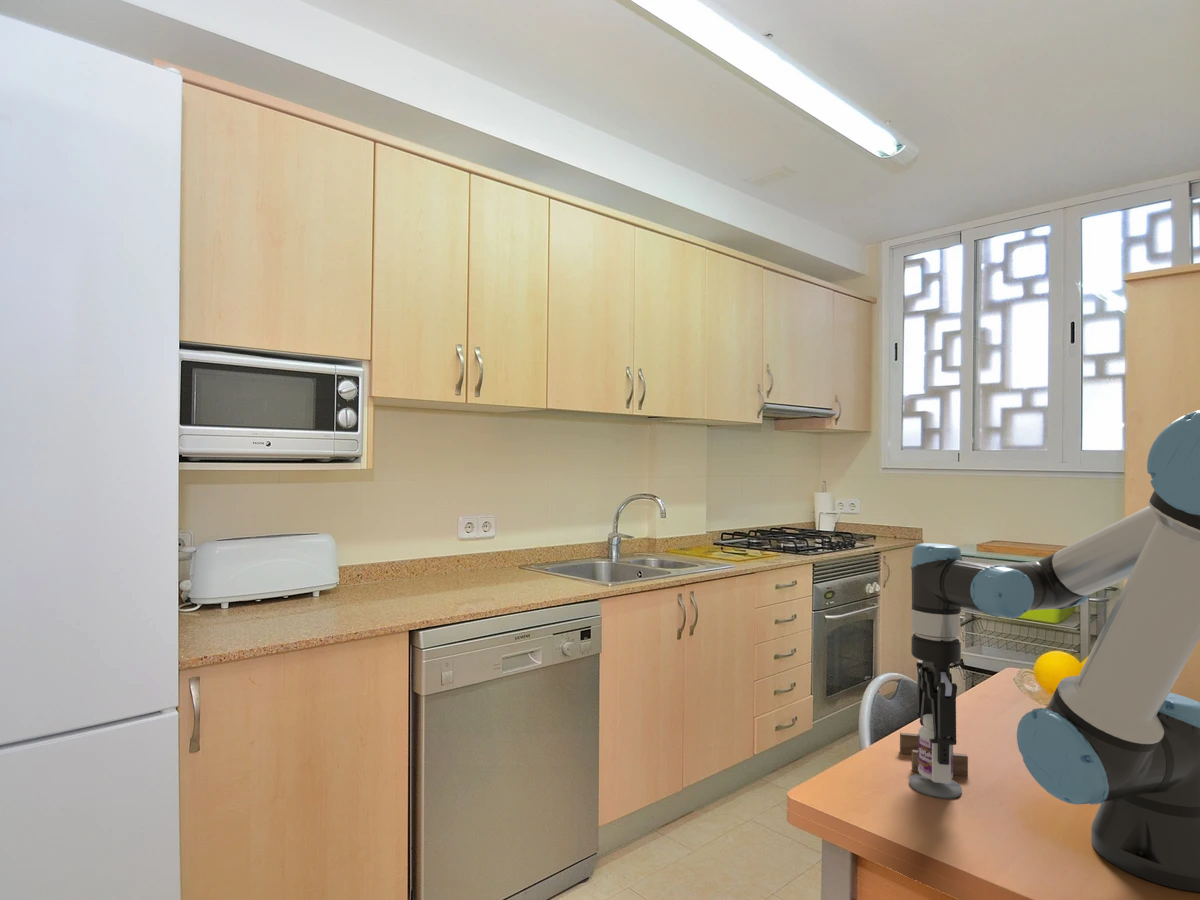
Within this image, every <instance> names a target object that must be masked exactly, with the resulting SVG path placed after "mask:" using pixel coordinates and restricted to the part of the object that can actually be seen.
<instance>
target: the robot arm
mask: <svg viewBox="0 0 1200 900" xmlns="http://www.w3.org/2000/svg"><path fill="white" fill-rule="evenodd" d="M1146 462H1147V463H1146V469H1147V471H1146V473H1147V474H1149V475H1150V477H1151V479H1150V485H1151V486H1152V489H1153V492H1152V494H1151V496H1150V499H1149V500H1148V506H1146V507H1144V508H1141V509H1139V510H1138V511H1135V512H1134V513H1132V514H1130V515H1128V516H1126V517H1124V518H1122V519H1120V520H1118V521H1115V522H1114V523H1112V524H1110V525H1107V526H1106V527H1103V528H1102V529H1100V530H1098V531H1096V532H1094V533H1091V534H1089V535H1087V536H1086V537H1083V538H1082V539H1080V540H1078V541H1076V542H1073V543H1071V544H1069V545H1067V546H1065V547H1064V548H1061V549H1059V550H1057V551H1056V552H1054V553H1051V554H1050V555H1048V556H1045V557H1044V558H1041V559H1039V560H1036V561H1026V562H1025V561H1024V562H1022V561H1021V562H1005V563H983V562H975V561H968V560H965V559H963V556H962V552H961V551H962V550H961V549H960V547H959V546H956V545H953V544H947V543H932V542H931V543H930V542H928V543H927V542H926V543H925V542H923V543H917V544H916V545H914V546H913V549H912V555H911V556H912V557H911V566H910V570H911V610H910V611H911V614H910V616H911V617H910V620H911V621H910V624H911V625H910V627H911V628H910V629H911V631H912V635H911V648H910V649H911V655H912V656H913V657H914V658H915V659H916V660H919V661H916V673H917V684H916V685H917V688H916V689H917V691H916V693H917V694H916V695H917V697H916V698H917V699H916V700H917V701H916V717H917V718H918V719H919V724H920V725H921V726H922V727H923V726H924V725H923V716H924V715H926V714H932V715H933V728H934V739H930V743H932V781H933V782H938V783H950V784H951V780H952V779H951V745H953V746H956V745H957V695H958V694H957V692H958V686H957V683H954V682H953V677H952V675H953V674H952V673H951V672H950V668H949V667H950V665H952V664H957V663H959V662H960V661H961V656H962V654H961V653H962V651H961V648H962V646H961V645H962V641H961V640H960V639H959V637H960V636H961V623H963V622H964V617H963V616H961V612H962V608H963V609H968V610H972V611H974V612H975V611H976V612H980V613H983V614H986V615H990V616H991V617H996V618H998V617H1002V618H1008V619H1017V618H1020V617H1023V615H1024V614H1025V613H1027V612H1029V611H1035V610H1065V609H1069V608H1072V607H1078V606H1081V605H1082V604H1085V602H1086V601H1087V600H1088V599H1089V597H1090V596H1091V595H1092V594H1094V593H1096V592H1099V591H1102V590H1103V589H1106V588H1108V587H1110V586H1114V585H1115V584H1119V583H1121V582H1123V581H1125V580H1126V582H1125V583H1124V586H1123V587H1122V590H1121V592H1120V593H1119V595H1118V597H1117V599H1116V601H1115V603H1114V605H1113V608H1112V610H1111V611H1110V613H1109V615H1108V617H1107V618H1106V621H1105V623H1104V625H1103V627H1102V629H1101V631H1100V633H1099V634H1098V637H1097V639H1096V640H1095V643H1094V644H1093V647H1092V649H1091V651H1090V653H1089V655H1088V656H1087V658H1086V660H1085V662H1084V664H1083V666H1082V668H1081V670H1080V673H1079V674H1078V675H1071V676H1066V677H1063V678H1062V679H1061V680H1060V681H1059V682H1058V685H1057V686H1056V689H1055V690H1054V692H1053V694H1052V697H1051V698H1050V700H1049V702H1048V704H1047V706H1045V708H1042V707H1038V708H1034V709H1032V710H1030V711H1028V712H1027V713H1025V714H1024V715H1023V716H1022V717H1021V718H1020V720H1019V722H1018V725H1017V730H1016V743H1017V749H1018V751H1019V753H1020V754H1021V757H1022V759H1023V763H1024V765H1025V767H1026V769H1027V771H1028V772H1029V774H1030V775H1031V777H1032V778H1033V779H1034V780H1035V781H1036V783H1038V785H1039V786H1040V787H1042V788H1043V789H1044V790H1045V792H1047V793H1048V794H1050V795H1051V796H1052V797H1054V798H1056V799H1057V800H1059V801H1061V802H1064V803H1067V804H1072V805H1078V806H1079V805H1080V806H1081V805H1087V804H1088V805H1098V804H1100V805H1099V807H1098V809H1097V811H1096V813H1095V816H1094V819H1093V821H1092V823H1091V834H1090V837H1091V845H1092V847H1093V848H1094V849H1095V851H1096V852H1097V853H1098V854H1099V855H1100V856H1101V857H1103V858H1104V859H1105V860H1106V861H1108V862H1110V863H1111V864H1112V865H1114V866H1116V867H1118V868H1120V869H1122V870H1124V871H1125V872H1127V873H1130V874H1132V875H1134V876H1136V877H1139V878H1140V879H1144V880H1146V881H1149V882H1152V883H1155V884H1158V885H1162V886H1166V887H1169V888H1172V889H1173V888H1174V889H1177V890H1181V891H1183V890H1184V891H1188V892H1190V891H1191V892H1198V893H1200V701H1197V700H1195V699H1193V698H1190V697H1187V696H1184V695H1180V694H1177V693H1174V692H1171V690H1172V689H1173V687H1174V685H1175V684H1176V681H1177V679H1179V676H1180V675H1181V673H1182V671H1183V670H1184V668H1185V666H1186V665H1187V663H1188V661H1189V659H1190V658H1191V656H1192V654H1193V653H1194V650H1195V649H1196V647H1197V645H1198V644H1199V642H1200V409H1198V410H1196V411H1195V410H1194V411H1192V412H1190V413H1187V414H1185V415H1183V416H1180V417H1179V418H1177V419H1176V420H1174V421H1172V422H1171V423H1170V424H1168V425H1167V426H1166V427H1165V428H1163V430H1162V431H1161V432H1160V433H1159V434H1158V435H1157V437H1156V438H1155V440H1154V441H1153V443H1152V444H1151V446H1150V448H1149V452H1148V456H1147V461H1146ZM952 682H953V683H952Z"/></svg>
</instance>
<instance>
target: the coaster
mask: <svg viewBox="0 0 1200 900" xmlns="http://www.w3.org/2000/svg"><path fill="white" fill-rule="evenodd" d="M908 784H909V786H910V787H911V788H912V789H913V790H914V791H916V792H917V793H920V794H923V795H924V796H929V797H932V798H937V799H944V800H945V799H946V800H951V799H957V798H959V797H961V796H962V794H963V788H962V786H961V785H960V784H959V783H958V782H957V781H955V780H953V779H951V784H950V783H938V782H933V781H932V780H930V779H928V778H926V777H924V776H922V775H921V774H920V773H919V772H917V773H914V774H911V775H910V776H909V778H908Z"/></svg>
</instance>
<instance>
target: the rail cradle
mask: <svg viewBox="0 0 1200 900" xmlns="http://www.w3.org/2000/svg"><path fill="white" fill-rule="evenodd" d="M899 753H900V754H902V755H903V754H904V755H911V771H912V772H913V773H919V771H918V733H909V732H908V733H907V732H900V733H899ZM968 756H969V755H968V754H967V753H957V752H955V753H954V752H953V776H958V777H969V757H968Z"/></svg>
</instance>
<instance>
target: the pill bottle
mask: <svg viewBox="0 0 1200 900" xmlns="http://www.w3.org/2000/svg"><path fill="white" fill-rule="evenodd" d="M923 725H924V726H923ZM923 725H922V726H920V728H919V730H918V733H917V734H918V771H919V772H918V773H920V774H921V775H922V776H924V777H926V778H928V779H930V780H932V743H930V739H934V728H933V715H932V714H926V715H924V716H923ZM953 753H954V745H951V780H953V777H954V775H953Z"/></svg>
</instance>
